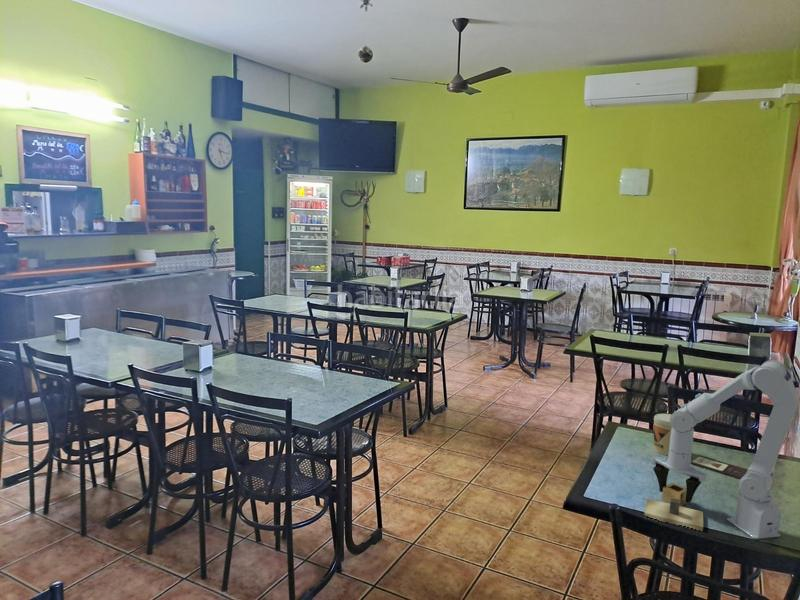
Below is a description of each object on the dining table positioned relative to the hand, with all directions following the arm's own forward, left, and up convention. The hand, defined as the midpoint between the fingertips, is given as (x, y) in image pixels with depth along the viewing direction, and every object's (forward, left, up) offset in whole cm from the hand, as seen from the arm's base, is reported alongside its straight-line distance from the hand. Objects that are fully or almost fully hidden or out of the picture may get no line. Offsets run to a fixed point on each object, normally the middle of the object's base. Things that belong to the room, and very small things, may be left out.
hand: (675, 496), depth 164 cm
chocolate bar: (+17, -31, -2) cm, 35 cm away
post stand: (-7, +6, -2) cm, 10 cm away
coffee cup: (+33, -21, -2) cm, 39 cm away
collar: (0, 0, -2) cm, 2 cm away
